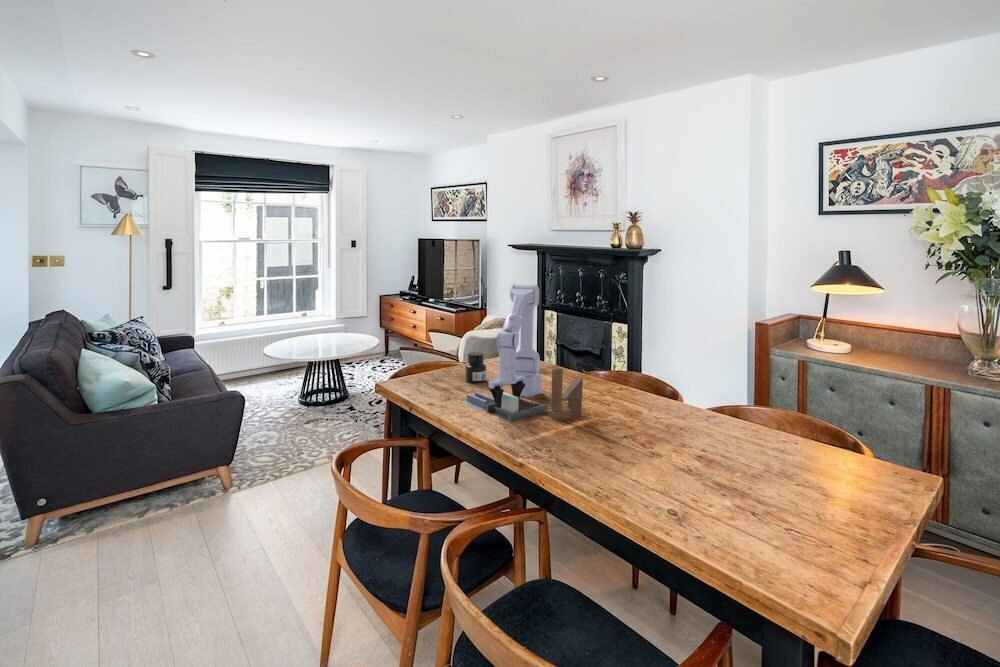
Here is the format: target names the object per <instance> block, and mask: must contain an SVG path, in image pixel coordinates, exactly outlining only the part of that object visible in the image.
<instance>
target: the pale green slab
mask: <svg viewBox="0 0 1000 667" xmlns="http://www.w3.org/2000/svg"><path fill="white" fill-rule="evenodd" d="M518 401H519V397H516V396H513V395H512V393H507V392H504V391H503V394H502V404H501V408H499V409H502V410H504V411H507V412H509V413H513V412H517V411H518ZM497 408H498V407H497Z"/></svg>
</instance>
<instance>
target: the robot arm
mask: <svg viewBox="0 0 1000 667" xmlns="http://www.w3.org/2000/svg"><path fill="white" fill-rule="evenodd" d="M509 289H510V290H509V297H510V300H511V303H512V305H511V309H510V314H507V315H506V316H505V317H506V318H505V321H504V323H503V327H502V329H501V331H500V332H498V333H497V337H496V347H497V354H498V378H496V379H494V380H490V381H488V389H489V391H490V393H491V395H492V398H494V401H495V405H496V407H498V408H501V404H502V394H503V392H504V389H503V388H501V387H504V386H509V385H510V387H511V390H512V391H511V392H512V393H511V395H513V396H516V397H519V398H520V396H525V398H526V397H527V398H529V397H530V398H531V397H534V396H536V395H540V394H542V381H543V380H542V376H541V374H540V373H539V372H540V370H541V360H540V359H541V358H540V357H541V356H540V354H539V353H538V352H537V351H536V350H535V349H534V348H533V343H534V341H533V340H534V339H533V338H534V312H535V311H534V310H535V307H537V306H539V303H540V287H539V286H538V284H518V283H517V284H516V283H512V285H511V287H510V288H509ZM519 340H520V341H519ZM519 342H520V343H519ZM519 345H520V348H519V349H518V347H519ZM517 349H518V350H517ZM518 402H519V401H518Z"/></svg>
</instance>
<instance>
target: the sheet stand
mask: <svg viewBox="0 0 1000 667" xmlns="http://www.w3.org/2000/svg"><path fill="white" fill-rule="evenodd" d="M459 403H461V404H464V405H466V406H468V407H470V408H473V409H475V410H478V411H483V410H486V404H491V403H495V401H494V398H493V397H491V396H489V395H486V394H483V393H481V392H478V391H477V392H474V395H473V394H470V393H467V394H466V400H462V401H459Z"/></svg>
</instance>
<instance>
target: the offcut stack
mask: <svg viewBox="0 0 1000 667" xmlns="http://www.w3.org/2000/svg"><path fill="white" fill-rule="evenodd" d="M536 406H540V403H539V402H537V401H533V400H530V399H528V398H526V397H525V398H521V397H520V398H519V402H518V409H520V410H525V409H529V408H532V407H536Z"/></svg>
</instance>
